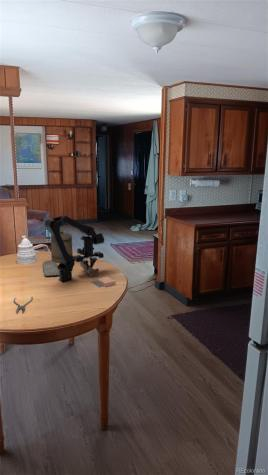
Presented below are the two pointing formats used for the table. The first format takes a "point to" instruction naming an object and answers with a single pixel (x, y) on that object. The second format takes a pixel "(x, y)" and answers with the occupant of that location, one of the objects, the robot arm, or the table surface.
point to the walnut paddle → (90, 270)
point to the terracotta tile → (106, 281)
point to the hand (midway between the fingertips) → (89, 269)
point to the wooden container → (67, 242)
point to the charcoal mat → (97, 284)
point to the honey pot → (26, 252)
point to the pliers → (21, 306)
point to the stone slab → (50, 268)
